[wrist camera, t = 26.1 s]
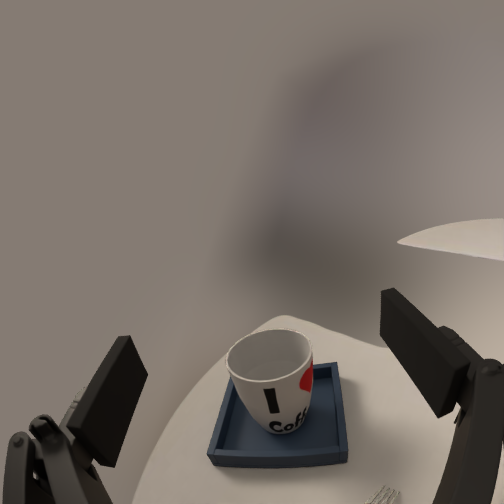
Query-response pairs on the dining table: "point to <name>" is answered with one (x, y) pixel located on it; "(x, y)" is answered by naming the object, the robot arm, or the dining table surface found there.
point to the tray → (290, 444)
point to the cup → (273, 377)
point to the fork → (382, 497)
